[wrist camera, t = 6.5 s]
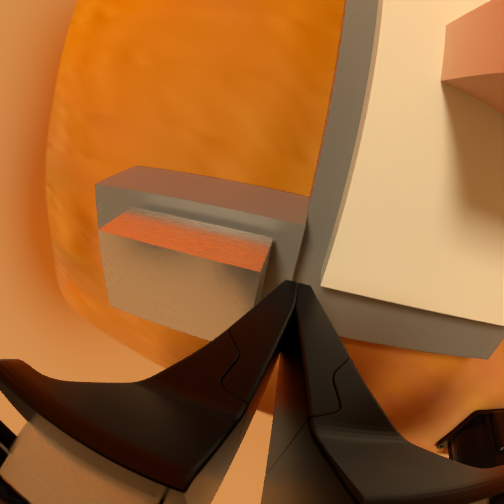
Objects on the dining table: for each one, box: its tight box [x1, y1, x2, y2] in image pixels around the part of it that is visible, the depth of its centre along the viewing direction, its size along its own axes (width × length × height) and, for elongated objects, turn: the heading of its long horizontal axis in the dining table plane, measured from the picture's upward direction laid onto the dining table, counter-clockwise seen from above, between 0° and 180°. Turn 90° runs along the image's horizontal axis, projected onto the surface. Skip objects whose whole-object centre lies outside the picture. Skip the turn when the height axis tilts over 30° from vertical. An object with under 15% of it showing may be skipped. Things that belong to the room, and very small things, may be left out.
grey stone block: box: [98, 207, 273, 341], centre depth 9 cm, size 3×5×2 cm, turn 82°
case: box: [95, 0, 504, 359], centre depth 8 cm, size 16×20×3 cm
